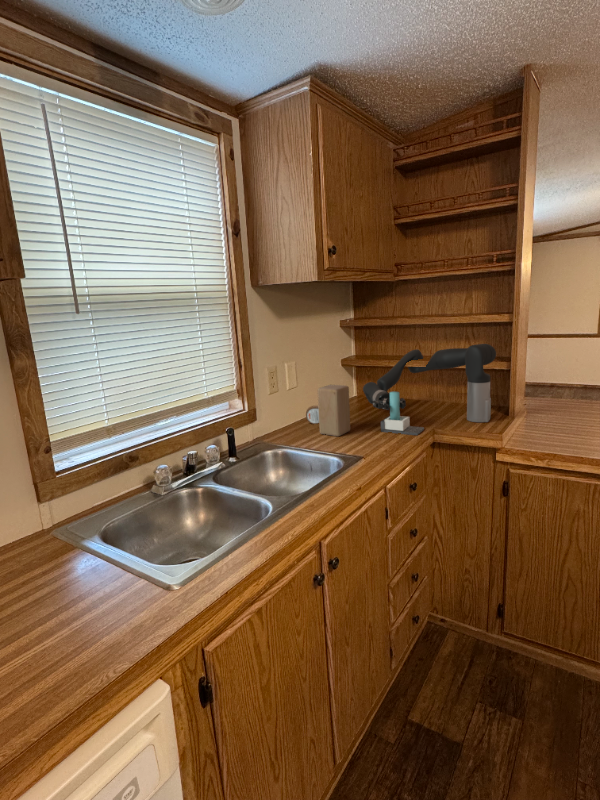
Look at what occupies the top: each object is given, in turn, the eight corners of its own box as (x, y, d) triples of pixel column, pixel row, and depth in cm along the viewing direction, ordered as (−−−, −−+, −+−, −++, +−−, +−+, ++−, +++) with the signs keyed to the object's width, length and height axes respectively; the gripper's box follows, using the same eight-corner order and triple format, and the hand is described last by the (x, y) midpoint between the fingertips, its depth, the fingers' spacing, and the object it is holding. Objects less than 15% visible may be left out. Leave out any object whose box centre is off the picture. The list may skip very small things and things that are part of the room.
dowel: (401, 424, 191) (400, 391, 188) (398, 426, 187) (397, 393, 185) (392, 423, 193) (391, 391, 190) (388, 425, 189) (388, 393, 187)
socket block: (409, 425, 191) (409, 416, 190) (403, 430, 184) (403, 421, 183) (391, 424, 195) (391, 415, 194) (384, 429, 189) (384, 419, 188)
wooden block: (338, 437, 185) (336, 389, 181) (318, 434, 191) (316, 388, 187) (351, 431, 193) (349, 385, 189) (331, 428, 199) (329, 384, 195)
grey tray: (423, 429, 188) (423, 419, 187) (417, 435, 181) (417, 424, 180) (388, 426, 197) (388, 416, 196) (380, 431, 189) (380, 421, 188)
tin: (338, 422, 209) (337, 404, 208) (338, 423, 206) (337, 405, 205) (306, 423, 211) (305, 405, 209) (305, 424, 208) (304, 407, 206)
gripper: (367, 392, 201) (378, 399, 184) (398, 389, 203) (412, 396, 186) (367, 408, 202) (379, 417, 186) (398, 406, 204) (412, 414, 188)
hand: (395, 407), depth 186 cm, fingers open, 6 cm apart
